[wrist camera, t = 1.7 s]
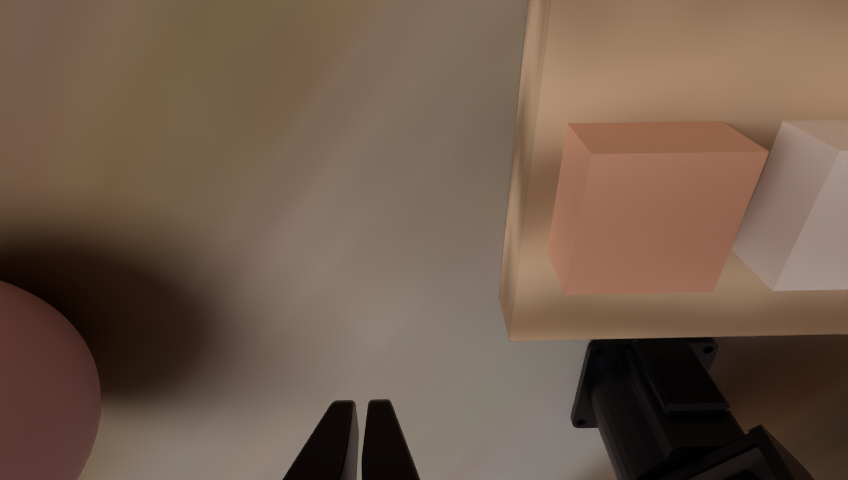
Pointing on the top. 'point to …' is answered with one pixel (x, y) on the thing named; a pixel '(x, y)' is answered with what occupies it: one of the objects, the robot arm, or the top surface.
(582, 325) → the thick wooden platform
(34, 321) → the mortar and pestle
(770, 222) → the tile cream
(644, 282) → the tile terracotta
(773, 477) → the robot arm
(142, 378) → the top surface
